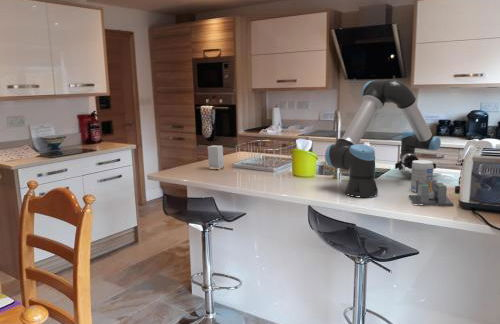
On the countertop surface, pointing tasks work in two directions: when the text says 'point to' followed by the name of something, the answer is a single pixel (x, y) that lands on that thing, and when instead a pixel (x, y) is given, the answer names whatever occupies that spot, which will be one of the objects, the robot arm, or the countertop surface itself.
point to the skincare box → (215, 156)
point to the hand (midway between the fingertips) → (418, 169)
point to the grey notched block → (439, 195)
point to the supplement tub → (421, 171)
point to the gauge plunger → (430, 183)
